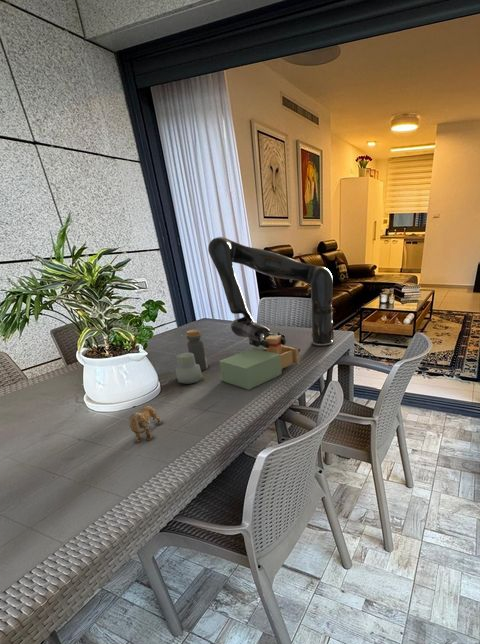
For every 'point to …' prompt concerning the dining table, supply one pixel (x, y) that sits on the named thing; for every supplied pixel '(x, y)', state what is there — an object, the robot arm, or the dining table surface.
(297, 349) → the drawer
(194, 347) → the bottle
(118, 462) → the dining table surface
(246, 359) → the cabinet
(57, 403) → the dining table surface
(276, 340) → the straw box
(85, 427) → the dining table surface
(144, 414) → the lion figurine
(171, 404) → the dining table surface
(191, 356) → the air freshener
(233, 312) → the robot arm
